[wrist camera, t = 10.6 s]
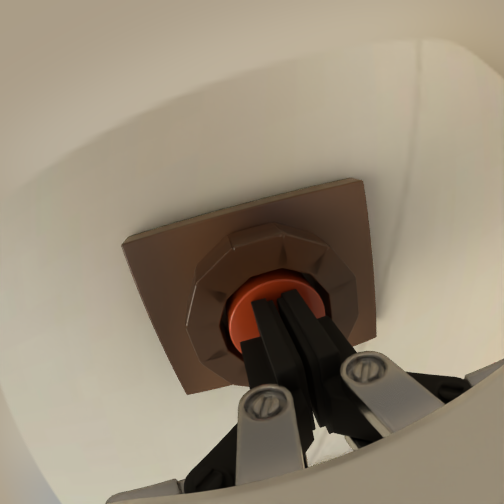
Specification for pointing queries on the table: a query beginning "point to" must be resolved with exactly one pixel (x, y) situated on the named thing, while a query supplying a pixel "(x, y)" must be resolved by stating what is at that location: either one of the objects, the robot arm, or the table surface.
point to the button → (271, 289)
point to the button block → (253, 272)
